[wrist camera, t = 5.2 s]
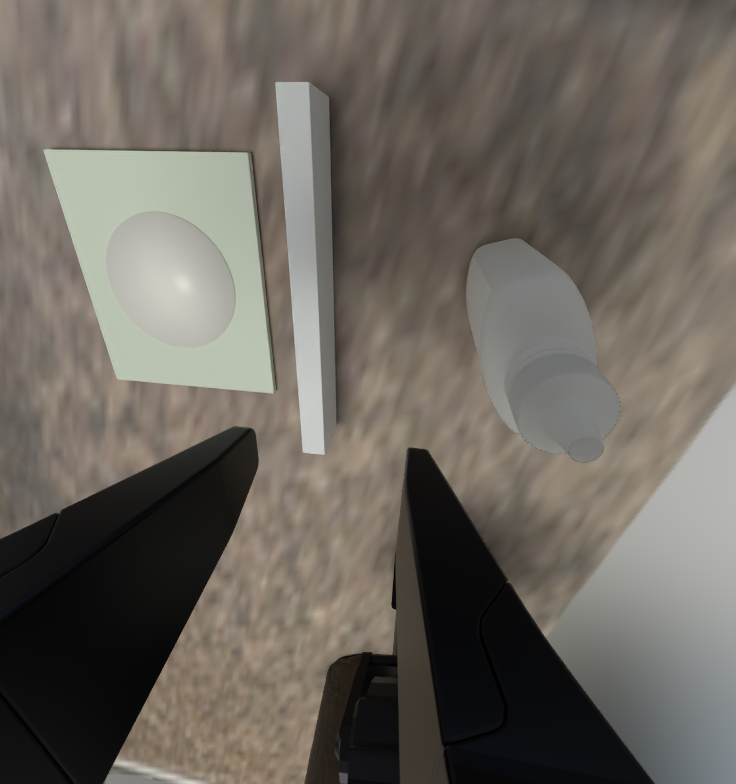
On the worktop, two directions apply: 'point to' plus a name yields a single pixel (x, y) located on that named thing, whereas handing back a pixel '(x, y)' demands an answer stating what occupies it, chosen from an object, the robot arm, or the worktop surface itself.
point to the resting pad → (171, 263)
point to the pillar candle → (331, 722)
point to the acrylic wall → (310, 253)
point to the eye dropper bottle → (538, 351)
